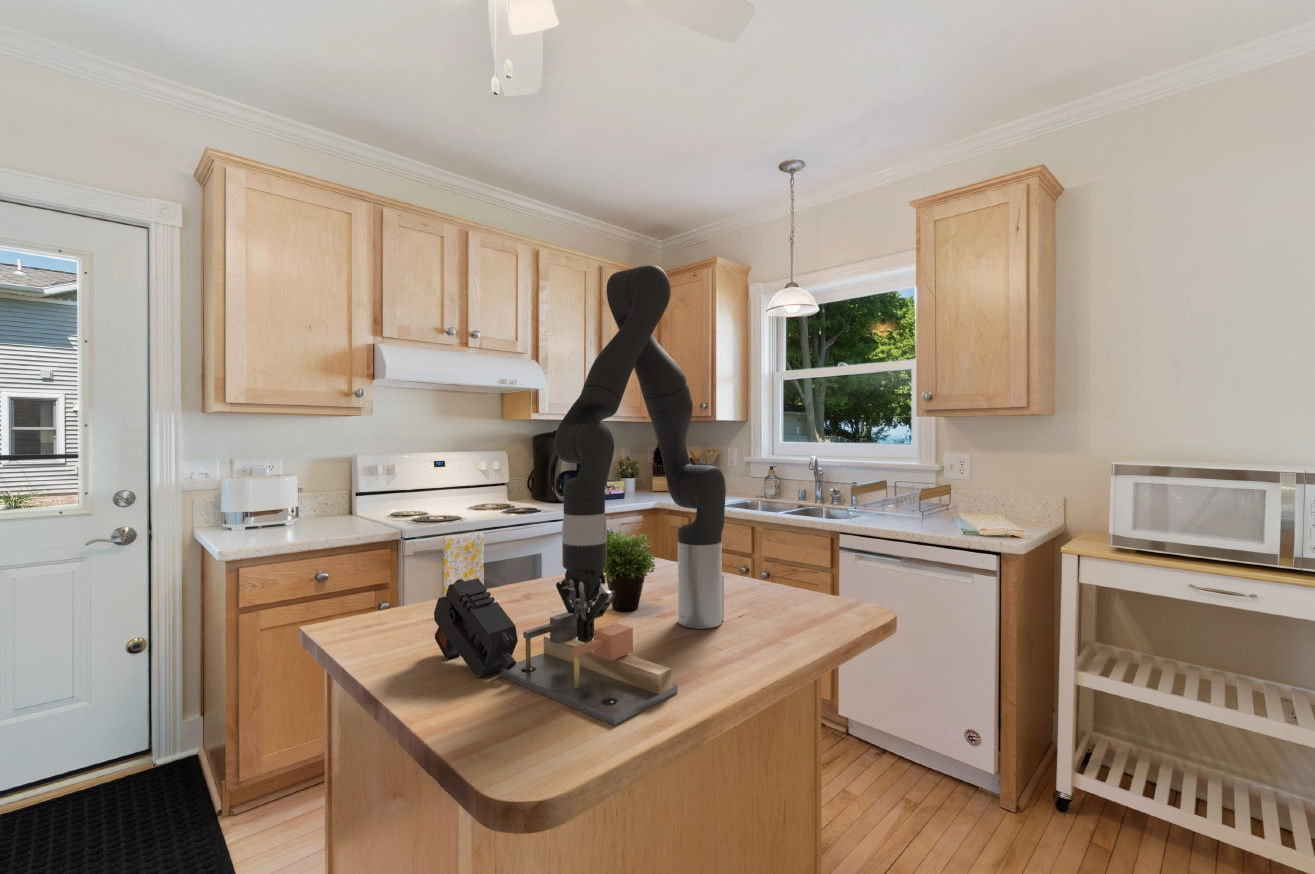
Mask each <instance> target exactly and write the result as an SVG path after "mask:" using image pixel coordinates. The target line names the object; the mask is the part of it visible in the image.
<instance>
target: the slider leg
mask: <svg viewBox="0 0 1315 874" xmlns="http://www.w3.org/2000/svg"><path fill="white" fill-rule="evenodd" d="M592 650H594V655H596V656H599V657H602V658H604V659H607V660H610V661H612V660H615V659H617V658H620V657H622V656H625V655H630V654H632V653H634V628H633V627H631V626H629V625H628V626H627V625H624V624H620V623H618V622H614V623H611V624H608V625H606V626H603V627H599V628H596V629H594V638H593V639H592V641H589V642H587V643H584V644H581V645H579V646H576V647H573V648H572V655H574V687H575V688H579V687H580V666H579V655H582V654H585V653H587V652H590V651H592Z"/></svg>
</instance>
